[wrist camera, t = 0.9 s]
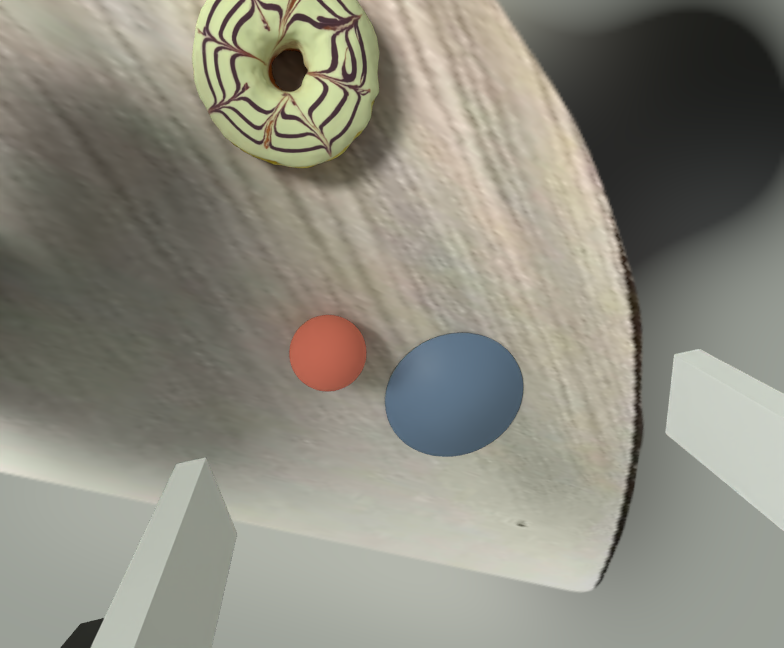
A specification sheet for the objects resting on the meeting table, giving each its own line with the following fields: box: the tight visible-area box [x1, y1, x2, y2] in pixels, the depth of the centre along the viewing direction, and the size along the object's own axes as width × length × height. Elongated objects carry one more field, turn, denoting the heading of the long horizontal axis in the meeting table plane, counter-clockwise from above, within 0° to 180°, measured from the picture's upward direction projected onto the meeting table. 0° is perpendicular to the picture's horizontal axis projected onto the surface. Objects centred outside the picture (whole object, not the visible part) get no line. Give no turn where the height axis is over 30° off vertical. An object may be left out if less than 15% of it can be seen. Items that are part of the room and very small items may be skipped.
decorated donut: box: [192, 0, 379, 168], centre depth 26 cm, size 10×11×4 cm
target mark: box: [385, 333, 523, 457], centre depth 37 cm, size 12×12×1 cm
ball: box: [289, 315, 366, 391], centre depth 31 cm, size 6×6×6 cm
